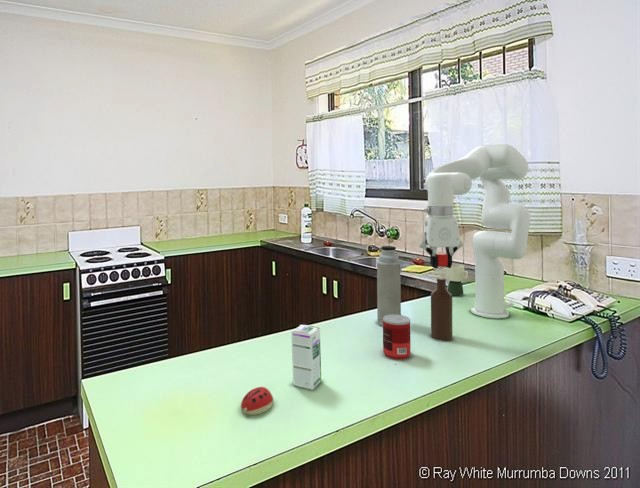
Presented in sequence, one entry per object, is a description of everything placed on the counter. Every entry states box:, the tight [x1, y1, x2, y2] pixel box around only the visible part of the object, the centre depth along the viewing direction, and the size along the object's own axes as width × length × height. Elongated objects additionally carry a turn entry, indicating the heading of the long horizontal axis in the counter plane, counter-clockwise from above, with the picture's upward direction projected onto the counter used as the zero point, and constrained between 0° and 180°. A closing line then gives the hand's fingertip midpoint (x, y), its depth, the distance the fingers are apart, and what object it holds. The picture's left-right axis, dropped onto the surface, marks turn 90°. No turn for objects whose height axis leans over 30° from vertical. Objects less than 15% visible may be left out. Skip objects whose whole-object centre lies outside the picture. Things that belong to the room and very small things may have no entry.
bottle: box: [430, 277, 453, 342], centre depth 145 cm, size 6×6×20 cm
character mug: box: [442, 263, 469, 296], centre depth 193 cm, size 11×7×13 cm, turn 37°
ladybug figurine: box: [240, 386, 274, 416], centre depth 104 cm, size 7×10×4 cm
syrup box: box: [291, 324, 322, 391], centre depth 115 cm, size 6×6×14 cm
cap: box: [436, 252, 448, 267], centre depth 144 cm, size 4×4×4 cm
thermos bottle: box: [376, 245, 402, 327], centre depth 159 cm, size 8×8×28 cm
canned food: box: [382, 314, 411, 360], centre depth 132 cm, size 8×8×11 cm
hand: (441, 266), depth 144 cm, fingers closed on cap, 3 cm apart
